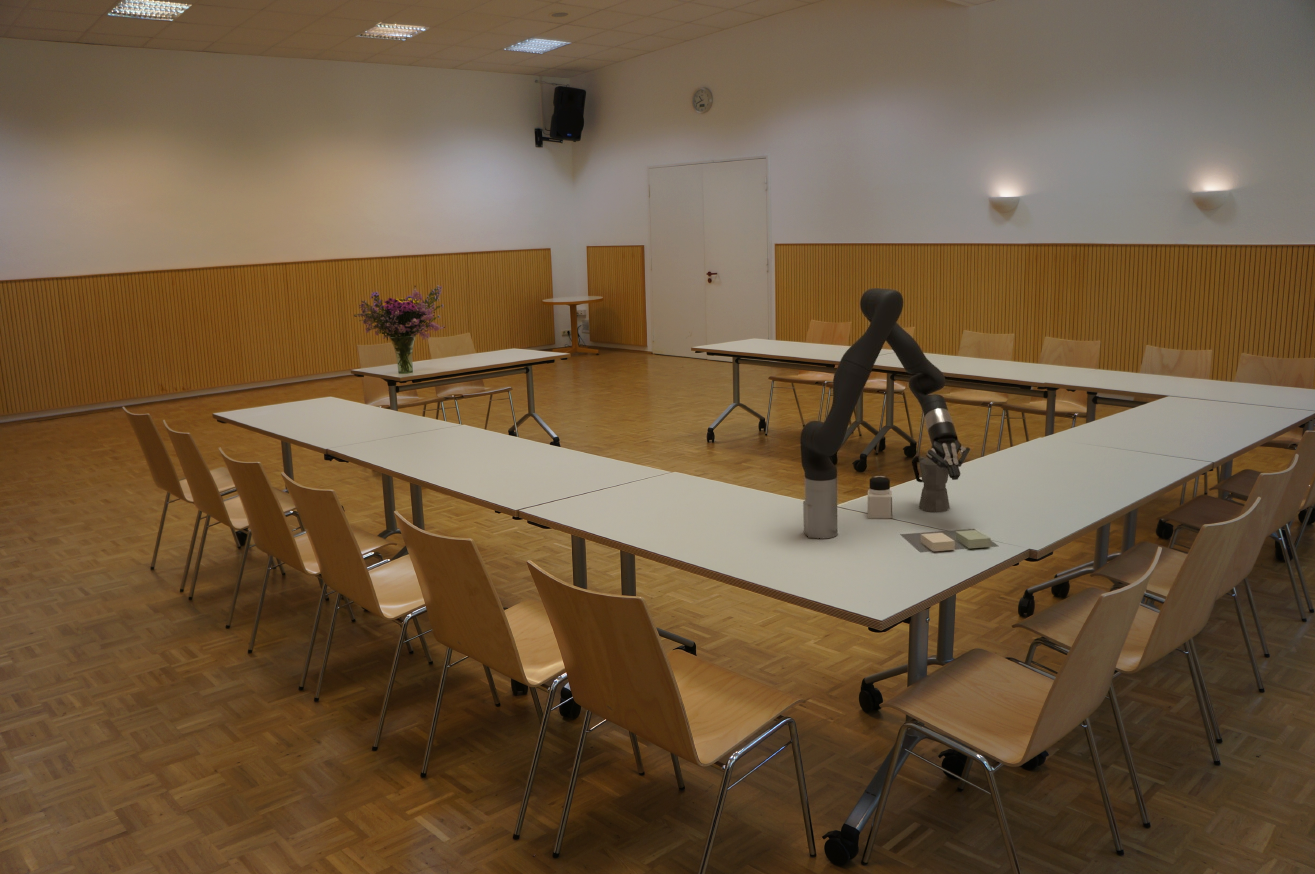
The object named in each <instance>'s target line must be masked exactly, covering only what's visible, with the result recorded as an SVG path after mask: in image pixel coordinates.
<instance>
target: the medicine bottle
mask: <svg viewBox="0 0 1315 874" xmlns="http://www.w3.org/2000/svg"><path fill="white" fill-rule="evenodd" d="M892 518H893V495H892V490H891V480H890V478H889V477H887V476H882V475H880V476H879V475H876V476H872V477H871V478H869V489H868V490H867V519H892Z"/></svg>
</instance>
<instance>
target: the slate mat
mask: <svg viewBox="0 0 1315 874" xmlns="http://www.w3.org/2000/svg"><path fill="white" fill-rule="evenodd" d="M969 530H976V529H975V528H965V529H953V530H941V531H940V530H939V531H925V532H924V531H923V532H913V533H912V532H911V533H900V534H899V535H900V536H901V537H902V538H903V539H905V541H907V542H908V543H909V544H910V545H911V546H912V547H914V548H915V549H916V550H917V551H918V552H919V553H930V552H931V553H932V552H933V551H932V550H931V549H929V548H928V547H926V546H925V545H923V544H922V543H921V534H931V533H943V534H945V535H946V536H948V537H949V538H951V539H952V540H954V541H955V550H954V551H957V550H968V549H969V550H970V549H972V548H968V547H966V546H964V545H963V544H961V543H960V542H958V541H957V540H956V531H969ZM995 547H996V548H997V547H999V545H998V544H997V543H995V542H994V541H993V540H991V547H990V548H995ZM983 548H985V547H982V549H983Z"/></svg>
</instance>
